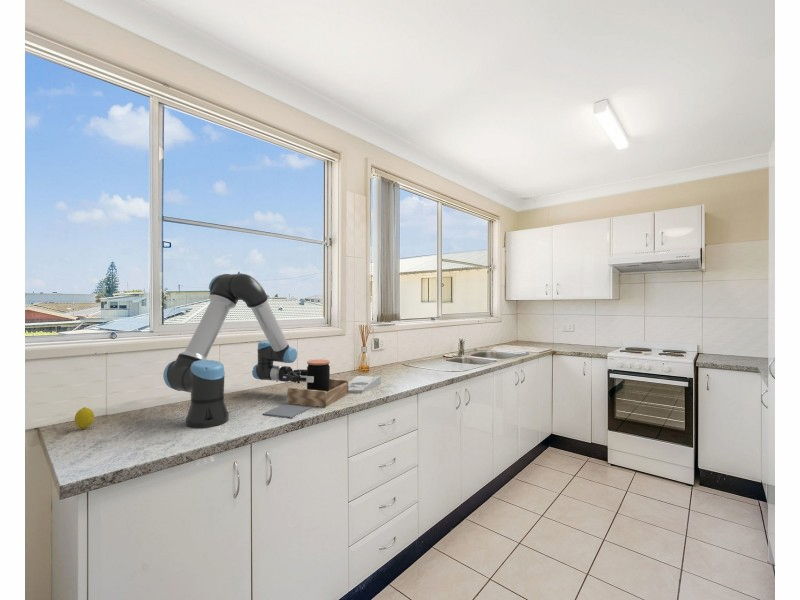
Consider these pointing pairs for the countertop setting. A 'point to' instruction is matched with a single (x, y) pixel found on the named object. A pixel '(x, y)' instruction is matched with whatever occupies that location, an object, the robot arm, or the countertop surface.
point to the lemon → (84, 418)
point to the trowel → (363, 384)
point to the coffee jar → (319, 375)
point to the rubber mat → (286, 411)
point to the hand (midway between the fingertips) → (320, 376)
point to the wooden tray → (319, 394)
